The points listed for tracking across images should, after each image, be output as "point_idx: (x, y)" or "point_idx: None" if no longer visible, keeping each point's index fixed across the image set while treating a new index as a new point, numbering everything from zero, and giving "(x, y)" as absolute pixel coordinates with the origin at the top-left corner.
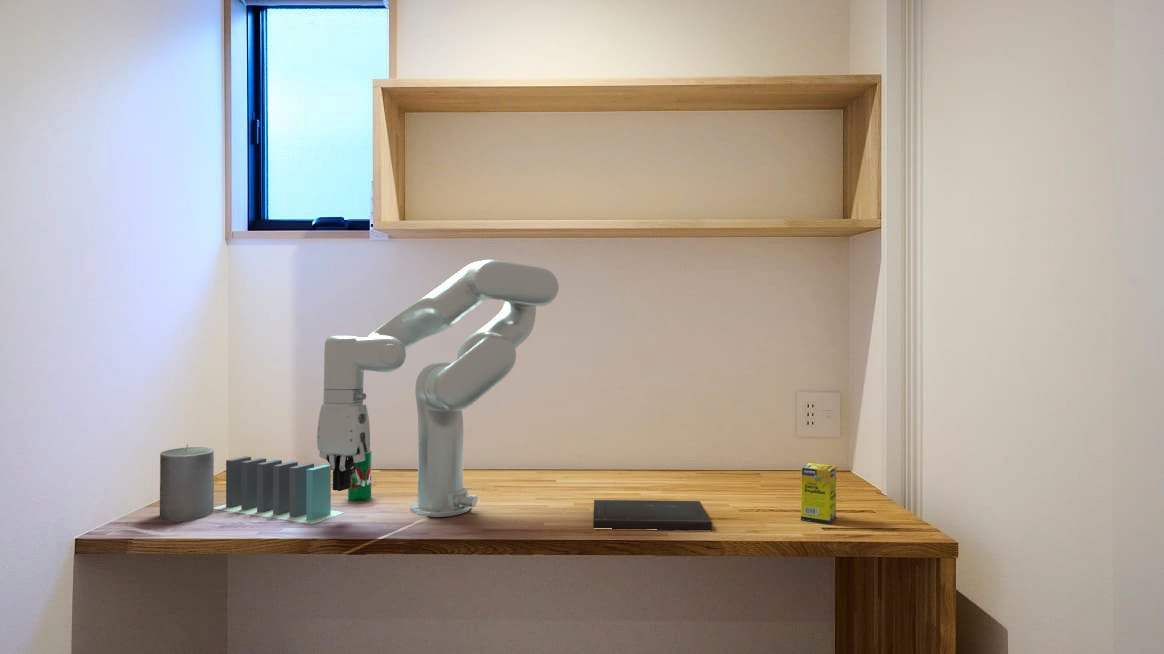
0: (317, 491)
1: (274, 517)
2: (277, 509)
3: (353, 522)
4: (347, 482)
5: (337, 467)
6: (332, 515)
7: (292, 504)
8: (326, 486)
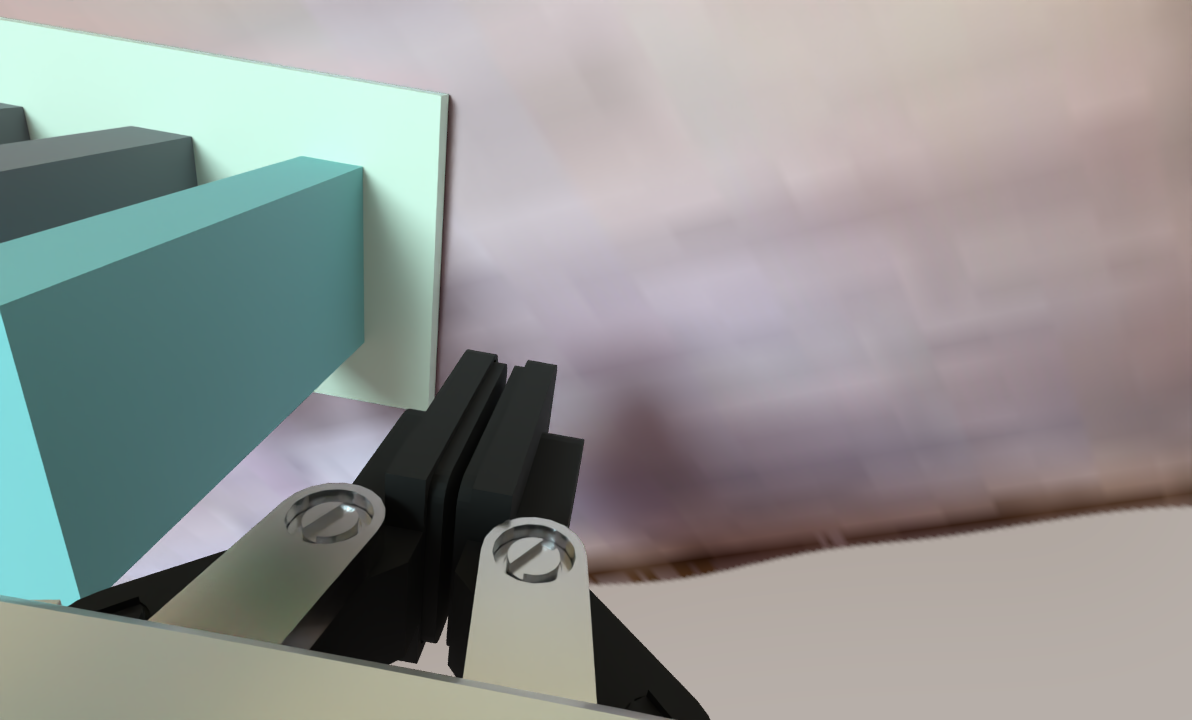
0: (253, 394)
1: None
2: None
3: (628, 253)
4: (575, 488)
5: (398, 650)
6: (409, 206)
7: None
8: (226, 287)
